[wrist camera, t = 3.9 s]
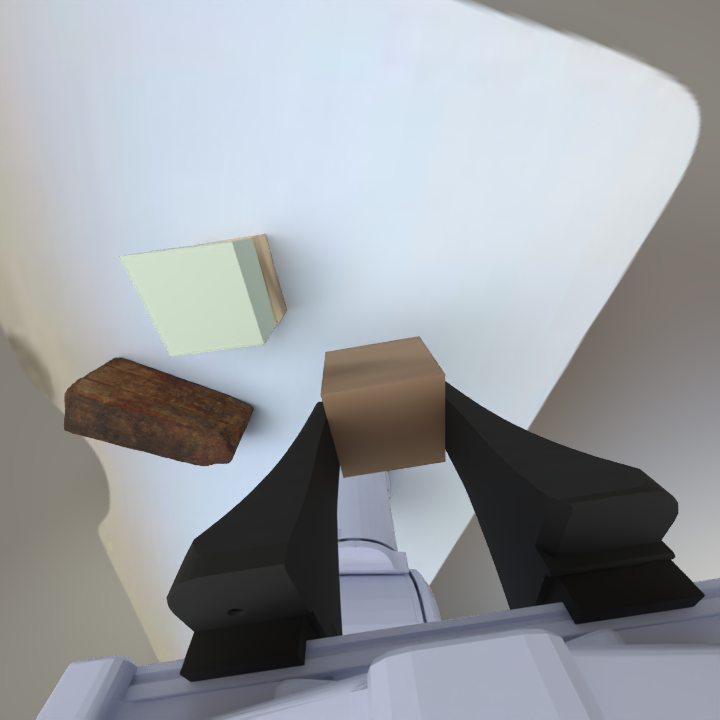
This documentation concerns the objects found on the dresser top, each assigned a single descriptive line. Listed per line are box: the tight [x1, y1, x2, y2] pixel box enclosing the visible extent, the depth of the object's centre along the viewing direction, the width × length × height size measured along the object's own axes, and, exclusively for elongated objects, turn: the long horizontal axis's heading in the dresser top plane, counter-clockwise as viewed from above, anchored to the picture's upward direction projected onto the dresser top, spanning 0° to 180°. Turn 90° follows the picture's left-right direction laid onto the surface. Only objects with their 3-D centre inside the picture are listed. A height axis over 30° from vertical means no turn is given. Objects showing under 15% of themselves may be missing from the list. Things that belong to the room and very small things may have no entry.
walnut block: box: [321, 337, 445, 478], centre depth 12 cm, size 4×4×4 cm
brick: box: [64, 358, 253, 466], centre depth 20 cm, size 11×4×5 cm, turn 62°
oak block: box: [201, 234, 287, 324], centre depth 17 cm, size 5×5×3 cm
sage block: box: [119, 238, 276, 357], centre depth 14 cm, size 5×5×3 cm
